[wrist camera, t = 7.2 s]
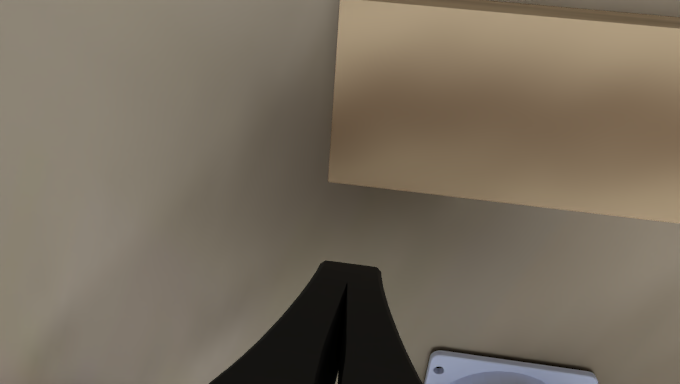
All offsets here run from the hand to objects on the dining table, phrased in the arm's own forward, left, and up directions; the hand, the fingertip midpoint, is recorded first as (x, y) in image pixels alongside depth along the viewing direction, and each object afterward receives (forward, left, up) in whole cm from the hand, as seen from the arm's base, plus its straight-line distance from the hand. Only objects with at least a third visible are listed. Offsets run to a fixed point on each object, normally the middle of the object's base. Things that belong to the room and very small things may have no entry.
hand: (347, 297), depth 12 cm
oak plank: (+3, -13, -10) cm, 16 cm away
